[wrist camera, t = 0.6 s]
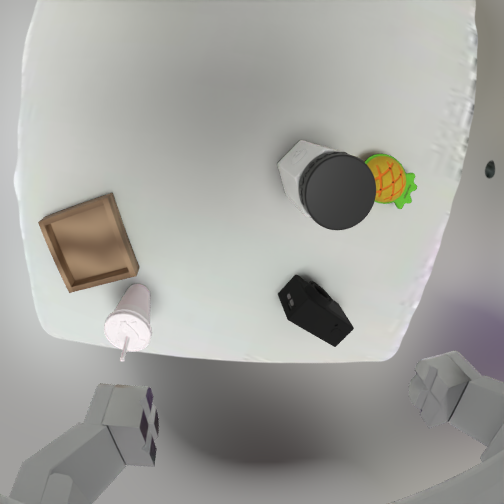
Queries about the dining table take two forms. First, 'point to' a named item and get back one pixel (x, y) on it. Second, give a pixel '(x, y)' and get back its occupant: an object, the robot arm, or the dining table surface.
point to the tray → (89, 244)
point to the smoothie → (130, 321)
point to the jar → (328, 185)
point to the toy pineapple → (391, 180)
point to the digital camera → (314, 310)
